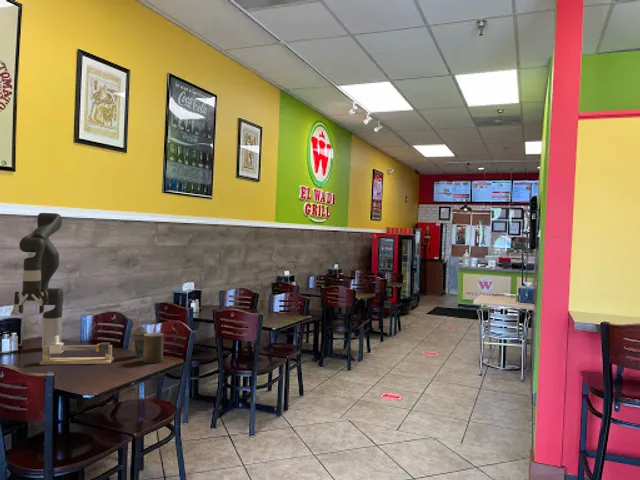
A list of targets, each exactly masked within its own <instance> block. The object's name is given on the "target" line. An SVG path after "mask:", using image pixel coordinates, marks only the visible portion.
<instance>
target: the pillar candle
mask: <svg viewBox="0 0 640 480" xmlns="http://www.w3.org/2000/svg"><path fill="white" fill-rule="evenodd" d="M161 361H162V362H163V361H164V333H162V332H149V333H147V334H144V347H143V357H142V362H143V363H145V364H146V363H147V364H157V362H158V363H161Z"/></svg>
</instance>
